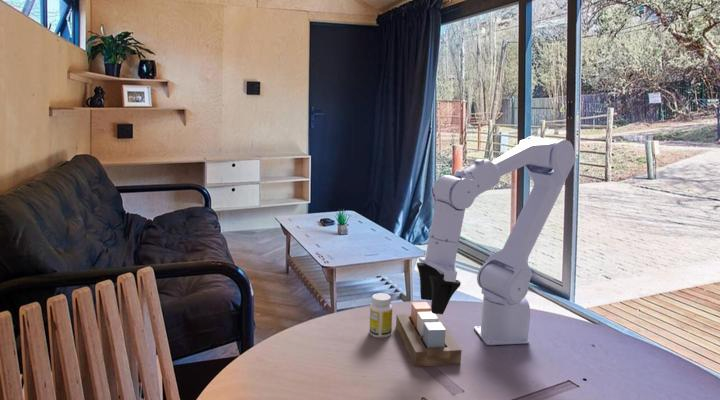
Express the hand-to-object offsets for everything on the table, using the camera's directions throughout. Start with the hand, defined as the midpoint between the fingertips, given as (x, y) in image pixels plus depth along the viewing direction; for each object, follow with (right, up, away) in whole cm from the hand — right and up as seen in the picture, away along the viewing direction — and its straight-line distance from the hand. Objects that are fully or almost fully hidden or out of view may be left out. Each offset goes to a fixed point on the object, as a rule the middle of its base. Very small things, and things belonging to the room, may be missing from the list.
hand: (431, 306), depth 101 cm
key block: (0, -9, +7) cm, 11 cm away
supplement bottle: (-10, -8, +11) cm, 17 cm away
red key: (-1, -5, +11) cm, 12 cm away
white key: (0, -7, +6) cm, 9 cm away
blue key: (+1, -8, +1) cm, 8 cm away
